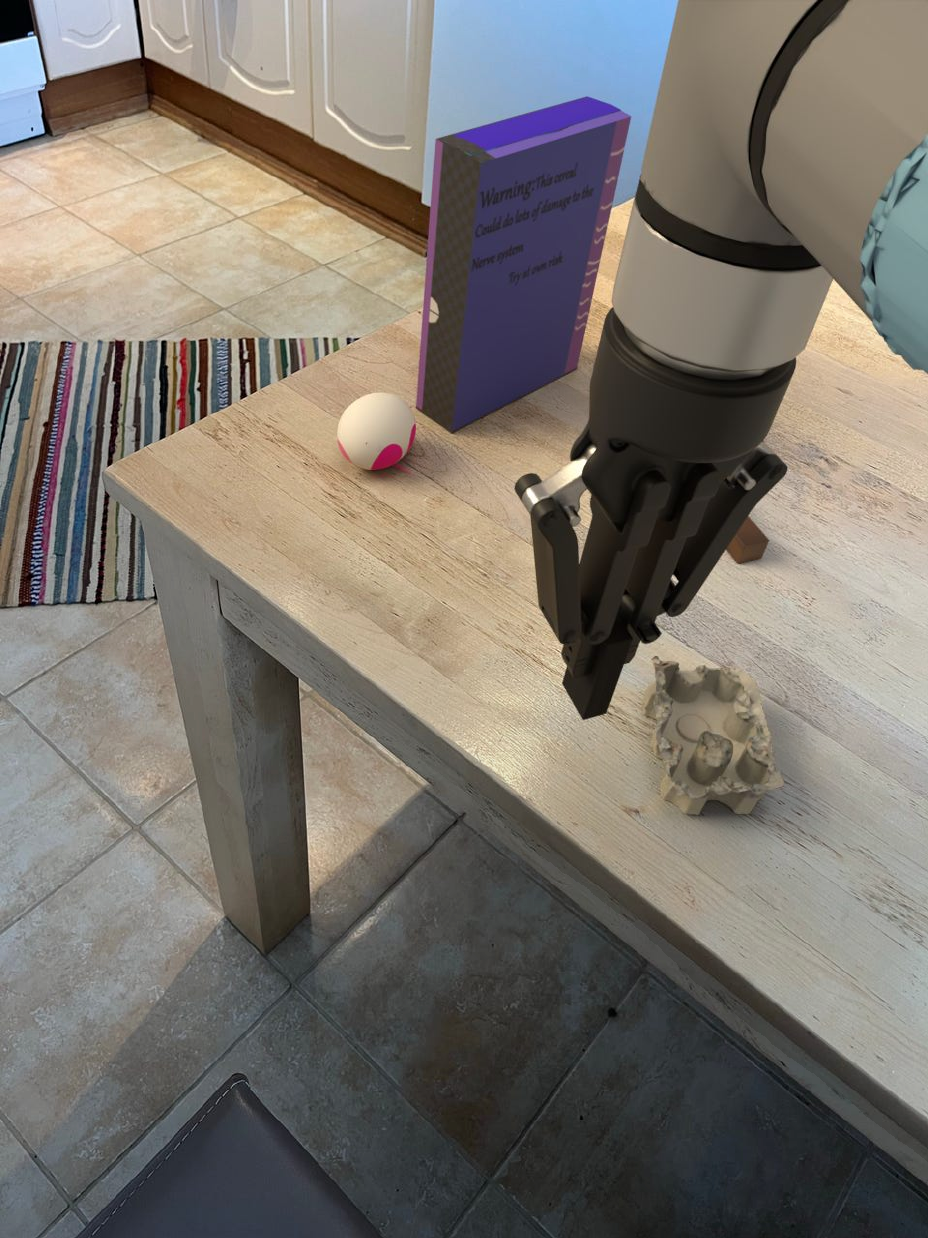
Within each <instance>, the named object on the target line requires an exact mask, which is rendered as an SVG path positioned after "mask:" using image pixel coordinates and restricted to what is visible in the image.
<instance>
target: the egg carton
mask: <svg viewBox="0 0 928 1238" xmlns="http://www.w3.org/2000/svg"><path fill="white" fill-rule="evenodd" d="M650 660H651V661H652V666H653V667H654V678H655V681H654V682H652V683H651V684H650V685H648V686H647V687H646V689H645V691H644V693H643V699H642V702H641V711H642V714H643V715H644V716H646V717H650V718H651V719H654V720H655V728H654V731H653V734H652V737H651V739H650V742H649V746H650V747H651V748H652V751H653V752H652V753H653V756H654V757H655V758H657V759H661V760H662V764H663V767H664V771H665V775H664V777H663V780H662V781H661V783H660V785H659V788H660V795H661V797H662V799H663V800H666V801H668V802H671V803H673V804H674V805H675V806H677V807H678V808H679V810H680V811H681V812H682V813H683V814H685V815H695V816H698V815H700V813H701V812H702V809H703V807H704V806H705V804H706V802H707V801H711V800H712V801H719V802H720V803H722V804H725V805H726V806H728V807H729V808H730V809H731V810H732V812H733V813H734V814H736V815H748V814H751V812H753V809H754V807H755V806H756V804H757V803H758V801H759V800H762V799H763V798H764V796H765V795H766V793H767V792H769V791H772V790H775V789H777V788H780V787H783V786H784V784H785V781H784V779H783V777H782V773H781V770H780V767H779V766H778V765H777V763H776V759H775V755H776V752H775V751H774V750H773V736H772V733H771V732H770V729H769V726H768V722H767V717H766V714H765V713H764V711H763V709H764V708H763V705H762V699H761V698H762V697H761V693H760V689H759V685H758V683H757V681H756V680H755V678H753V677H752V676H751V675H749V674H748V673H746V672H745V671H743V670H742V669H738V668H729V667H727V666H721V667H716V668H713V667H707V665H704V664H703V665H698V666H697V667H696V668H695V669H680V667H679V666H680V663H679V662H677V661H674V660H661V659H660V656H657V655H655V656H653V657H652V658H651V659H650Z"/></svg>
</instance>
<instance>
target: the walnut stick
mask: <svg viewBox="0 0 928 1238" xmlns="http://www.w3.org/2000/svg"><path fill="white" fill-rule="evenodd" d="M769 542H770V539H769V538H768V537H767V536H766V535H765V534H764V533H763V531H762V530H761V529H760V528H759V527H758V525H757V524H756V522H754V521H753V520H752V519H751V517H750V516H749V515H748V517H747V518H746V520H745V522H744V523H743V525H742V526H741V528H740V529H739V531H738V532H737V534H736V535H735V537H734V538H733V540H732V541H731V543H730V544H729V546H728V547H727V549H726V550H725V551H727V553H728V554H729V555H730V556H731V558H732V559H733V561H734V562H735V563H736V564H742V563H747V562H751V561H755V560H759V559H762V558H763V556H764V554H765V551H766V549H767V547H768V545H769Z"/></svg>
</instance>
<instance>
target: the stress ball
mask: <svg viewBox="0 0 928 1238" xmlns="http://www.w3.org/2000/svg"><path fill="white" fill-rule="evenodd" d="M412 407H413V405H411V406H410V405H409V404H408V403H407V402H406V401H405V400H404V399H403V398H401V397H399V396H397V395H395V394H393V393H389V392H371V393H367V394H365V395H363V396H361V397H359V398H358V399H356V400H354V401H353V402H352V403H351V404H349V406H348V407H347V408H346V409H345V411H344V412H343V413H342V415H341V417H340V420H339V422H338V425H337V431H336V438H337V444H338V447H339V450H340V452H341V454H342V455H343V456H344V458H345V459H346V461H348V462H349V463H350V464H352V465H353V466H355V467H357V468H360V469H362V470H368V471H369V470H370V471H374V470H375V471H376V470H382V469H386V468H388V467H392V466H395V467H396V468H398V469H400V470H402V471H405V472H407V473H408V474H411V475H413V473H412V472H410V471H408V470H407V469H405V468H404V467H402V466H401V465H399V464H397V463H398V462H399V461H400V460H401V459H402V458H404V457H405V456H406V455H407V454H408V452H409V450H410V449H411V448H412V446H413V443H414V441H415V439H416V433H417V423H416V422H417V421H416V416H415V414H414V412H413V410H412Z"/></svg>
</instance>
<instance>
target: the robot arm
mask: <svg viewBox="0 0 928 1238" xmlns="http://www.w3.org/2000/svg"><path fill="white" fill-rule="evenodd" d="M676 5H677V6H676V9H675V14H674V19H673V22H672V28H671V32H670V37H669V42H668V45H667V50H666V54H665V59H664V64H663V68H662V72H661V78H660V82H659V87H658V91H657V94H656V100H655V104H654V108H653V113H652V119H651V123H650V127H649V130H648V136H647V139H646V140H647V141H646V144H645V149H644V154H643V157H642V158H643V159H642V163H641V167H640V171H641V173H640V175H639V180H638V184H637V188H636V191H635V193H634V199H633V203H632V205H631V210H630V215H629V218H628V223H627V228H626V231H625V236H624V240H623V243H622V244H623V245H622V250H621V254H620V257H619V262H618V266H617V270H616V275H615V279H614V282H613V287H612V294H611V305H612V307H611V308H610V309H609V310H608V312H607V313H606V315H605V318H604V321H603V325H602V330H601V334H600V338H599V343H598V347H597V351H596V356H595V359H594V362H593V363H594V364H593V368H592V372H591V377H590V381H589V390H588V391H589V393H588V395H589V399H588V401H589V406H588V408H589V409H588V411H589V412H588V415H589V416H588V420H587V423H586V425H585V426H584V429H583V430H582V431H581V433H580V434H579V436H578V437H577V438H576V439H575V441H574V442H573V444H572V446H571V449H570V455H569V459H570V462H568V463H567V464H566V465H565V466H563V467H561V468H560V469H558V470H557V471H556V472H553V474H551V475H550V476H548V477H547V478H545V479H544V480H542V479H541V476H539V474H537V473H534V472H530V473H526V474H524V475H522V476H521V477H519V478H518V479H517V480H516V482H515V483H514V487H513V488H514V491H515V494H516V495H517V497H518V498H519V500H520V502H521V503H522V505H523V506H524V508H525V509H526V511H527V513H528V514H529V517H530V529H531V538H532V539H531V540H532V549H533V559H534V561H533V562H534V571H535V581H536V592H537V593H536V594H537V605H538V608H539V610H540V611H541V613H542V615H543V616H544V619H545V620H546V622H547V623H548V625H549V627H550V628H551V630H552V632H553V634H554V636H555V637H556V638H557V640H558V642H559V644H561V645H562V648H561V652H560V655H561V658H562V660H563V662H564V664H565V665H566V667H565V671H564V675H563V679H562V682H561V685H562V687H563V688H564V690H565V692H566V694H567V695H568V698H569V699H570V701H571V702H572V704H573V706H574V707H575V709H576V710H577V712H578V715H579V717H580V718H581V720H582V721H585V720H588V719H592V718H596V717H600V716H603V715H606V714H607V713H608V710H609V707H610V704H611V702H612V699H613V696H614V693H615V691H616V688H617V685H618V683H619V679H620V677H621V674H622V671H623V669H624V666H625V665H627V664H630V663H631V662H632V660H633V659H634V658H635V656H636V654H637V651H638V648H639V645H640V643H641V644H643V645H648V644H652V643H654V642H656V641H657V640H658V639H660V637H661V636H662V634H663V632H662V631H661V630H660V628H659V627H658V625H657V624H656V621H657V617H659V616H661V615H663V614H666V615H667V616H668V617H669V618H675V617H679V616H680V615H682V614H683V613H684V612H686V610H687V609H688V608H689V606H690V604H691V603H692V601H693V600H694V598H695V597H696V596H697V594H698V592H699V591H700V589H702V586H703V584H704V583H705V582H706V580H707V579H708V577H709V575H710V574H711V573H712V572H713V570H714V568H715V566H716V565H717V564H718V562H719V561H720V559H721V558H722V556H723V555H724V554H725V552H726V551H727V550H726V549H727V547H728V546H729V544H730V543H731V541H732V540H733V538H734V537H735V535H736V534H737V532H738V531H739V529H740V528H741V526H742V525H743V523H744V522H745V520H746V518H747V517H748V516H749V515H750V514H751V513H752V511H753V510H754V508H755V507H756V506H757V504H758V503H759V502H760V501H761V500H762V499H763V498H764V497H765V496H766V495H767V494H768V493H769V492H770V491H771V490H772V489H774V487H775V486H776V485H778V483H779V482H781V481H782V479H783V478H784V477H786V474H787V473H788V466H787V464H786V463H785V462H784V461H783V460H782V459H781V458H780V457H779V456H778V454H777V453H776V452H775V451H774V450H773V449H772V448H771V447H770V446H769V445H768V443H767V442H766V441H765V439H766V437H767V436H768V434H769V432H770V431H771V428H772V426H773V423H774V421H775V419H776V416H777V414H778V412H779V409H780V407H781V405H782V402H783V400H784V397H785V395H786V393H787V390H788V387H789V385H790V383H791V381H792V378H793V376H794V373H795V370H796V367H797V357H798V356H799V355H800V354H801V353H802V352H804V350H806V347H807V345H808V342H809V340H810V338H811V335H812V332H813V330H814V328H815V325H816V323H817V320H818V318H819V315H820V313H821V310H822V308H823V305H824V303H825V301H826V298H827V296H828V294H829V291H830V288H831V286H832V283H833V280H834V281H835V282H836V284H837V285H838V287H840V288H841V289H842V290H843V292H844V293H845V294H846V295H847V296H848V297H849V298H850V299H851V300H852V302H853V303H854V304H855V305H856V306H857V307H858V308H859V309H860V311H861V312H862V313H863V314H864V315H865V316H866V317H867V319H869V321H870V322H871V324H872V326H873V328H874V330H875V331H876V333H877V334H878V335H879V336H880V337H881V338H883V341H884V343H886V345H887V348H888V349H890V351H891V352H892V353H893V354H894V355H896V356H901V358H902V360H903V361H904V362H905V363H906V364H907V365H908V366H909V367H910V368H911V369H912V370H915V371H923V372H924V373H925V374H927V375H928V0H678V1H677V4H676ZM586 491H588V492H589V494H590V499H589V508H590V511H591V519H590V523H589V527H588V531H587V535H586V538H585V542H584V546H583V548H582V553H581V556H580V550H579V539H578V536H577V533H576V530H575V529H574V527H577V526H578V525H580V523H581V520H582V518H581V516H580V515H579V512H580V509H581V503H580V501H581V497H582V496H583V494H584V493H585V492H586ZM672 577H675V579H676V580H677V583H676V584H675V583H674V581H673V580H672Z"/></svg>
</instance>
